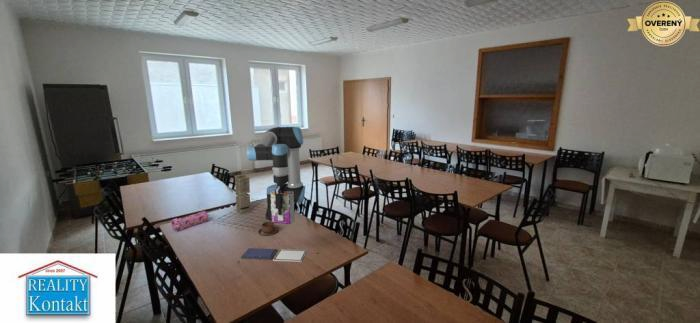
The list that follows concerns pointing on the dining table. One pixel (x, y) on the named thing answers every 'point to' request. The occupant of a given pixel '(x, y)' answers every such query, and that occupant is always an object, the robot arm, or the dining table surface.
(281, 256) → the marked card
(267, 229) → the cup and saucer
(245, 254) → the ink pad
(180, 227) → the pencil case
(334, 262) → the dining table surface
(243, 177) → the block tower
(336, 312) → the dining table surface
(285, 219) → the candy bar box
